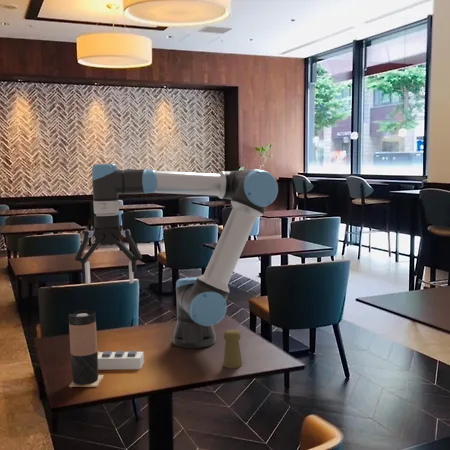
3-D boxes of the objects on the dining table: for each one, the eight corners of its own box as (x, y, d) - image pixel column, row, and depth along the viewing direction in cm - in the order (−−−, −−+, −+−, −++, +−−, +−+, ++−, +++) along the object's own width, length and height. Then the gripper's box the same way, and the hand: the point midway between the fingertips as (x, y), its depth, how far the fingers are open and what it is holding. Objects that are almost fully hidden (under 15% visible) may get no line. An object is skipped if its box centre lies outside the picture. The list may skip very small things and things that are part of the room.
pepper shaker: (228, 369, 173) (227, 334, 172) (219, 363, 179) (218, 329, 178) (245, 365, 176) (245, 331, 175) (236, 360, 182) (235, 326, 180)
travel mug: (99, 383, 163) (96, 315, 161) (72, 386, 161) (68, 318, 159) (98, 373, 171) (94, 309, 168) (71, 377, 169) (68, 311, 166)
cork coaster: (103, 376, 170) (103, 374, 170) (96, 387, 162) (96, 385, 162) (77, 377, 170) (77, 375, 170) (69, 387, 162) (69, 385, 162)
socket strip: (143, 362, 181) (143, 348, 181) (140, 369, 176) (140, 355, 175) (88, 362, 182) (87, 349, 182) (82, 369, 176) (82, 356, 176)
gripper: (62, 216, 170) (66, 286, 173) (145, 214, 169) (147, 284, 172) (70, 214, 178) (73, 280, 180) (149, 212, 177) (151, 279, 179)
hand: (109, 282), depth 176 cm, fingers open, 13 cm apart
